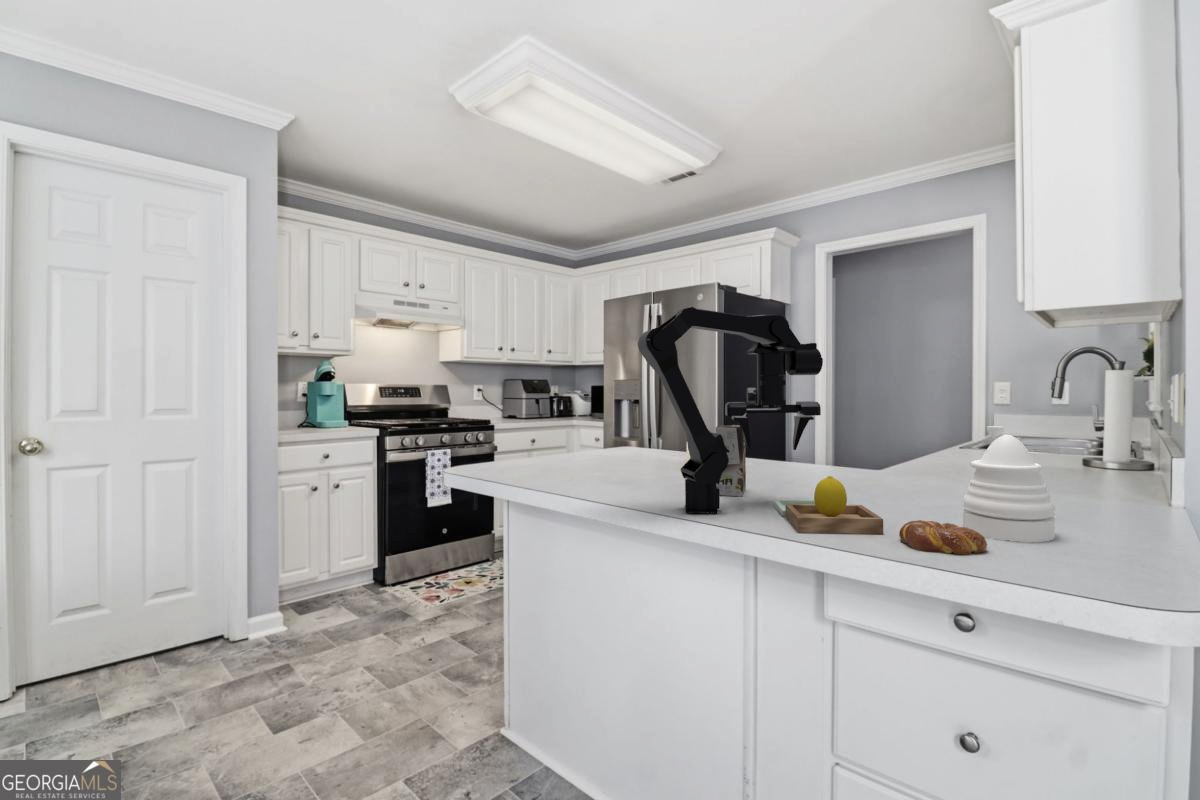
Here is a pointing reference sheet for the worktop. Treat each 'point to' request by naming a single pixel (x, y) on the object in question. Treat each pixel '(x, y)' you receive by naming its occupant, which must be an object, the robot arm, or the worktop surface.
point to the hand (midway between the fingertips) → (771, 449)
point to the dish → (781, 504)
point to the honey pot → (1008, 494)
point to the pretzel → (942, 537)
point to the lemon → (830, 497)
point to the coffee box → (733, 461)
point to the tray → (834, 520)
